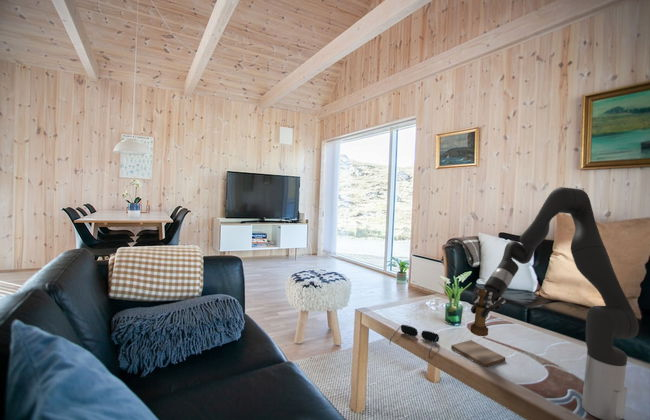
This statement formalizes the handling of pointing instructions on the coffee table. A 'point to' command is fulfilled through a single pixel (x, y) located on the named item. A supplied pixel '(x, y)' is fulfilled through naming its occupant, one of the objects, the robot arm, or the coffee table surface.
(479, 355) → the serving board
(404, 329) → the sunglasses
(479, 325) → the wooden pepper mill
